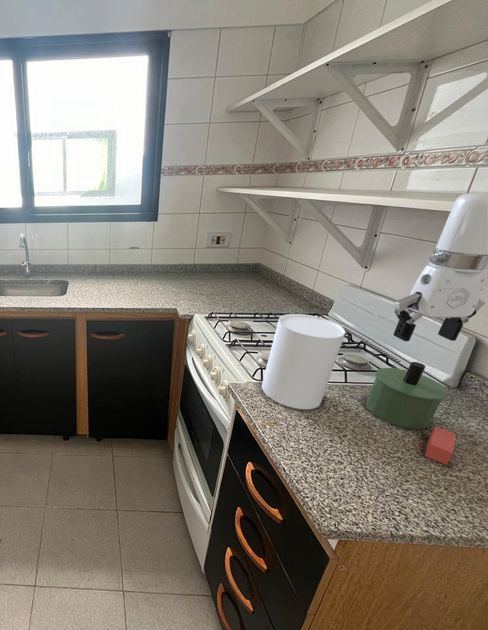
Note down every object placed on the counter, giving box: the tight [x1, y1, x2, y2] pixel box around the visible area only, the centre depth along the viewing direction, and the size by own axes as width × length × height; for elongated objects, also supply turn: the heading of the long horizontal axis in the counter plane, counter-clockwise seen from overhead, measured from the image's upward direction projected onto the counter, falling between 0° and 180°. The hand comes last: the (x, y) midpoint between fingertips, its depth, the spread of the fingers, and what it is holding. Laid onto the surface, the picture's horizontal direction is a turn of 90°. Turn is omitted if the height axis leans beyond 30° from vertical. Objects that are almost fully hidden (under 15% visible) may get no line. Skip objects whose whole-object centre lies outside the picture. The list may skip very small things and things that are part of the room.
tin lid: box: [374, 361, 449, 401], centre depth 79 cm, size 12×12×6 cm
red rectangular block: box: [424, 425, 457, 466], centre depth 72 cm, size 8×3×3 cm, turn 132°
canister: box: [261, 313, 346, 410], centre depth 88 cm, size 14×14×20 cm
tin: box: [365, 377, 442, 430], centre depth 82 cm, size 11×11×8 cm
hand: (423, 338), depth 74 cm, fingers open, 9 cm apart
